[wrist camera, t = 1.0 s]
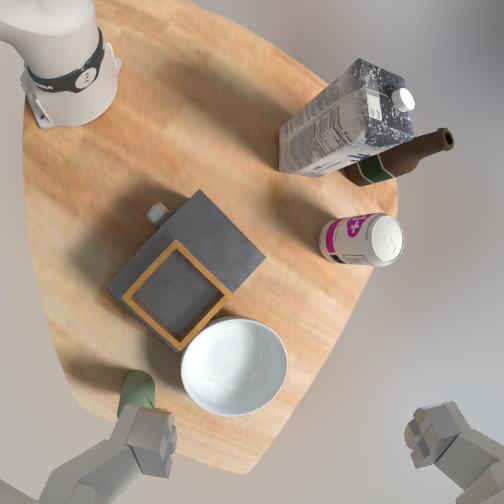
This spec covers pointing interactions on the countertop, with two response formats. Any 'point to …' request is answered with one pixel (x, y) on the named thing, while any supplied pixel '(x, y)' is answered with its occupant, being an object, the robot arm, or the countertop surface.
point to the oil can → (138, 391)
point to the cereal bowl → (233, 366)
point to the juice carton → (347, 122)
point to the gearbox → (185, 270)
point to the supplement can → (362, 240)
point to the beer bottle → (399, 158)
